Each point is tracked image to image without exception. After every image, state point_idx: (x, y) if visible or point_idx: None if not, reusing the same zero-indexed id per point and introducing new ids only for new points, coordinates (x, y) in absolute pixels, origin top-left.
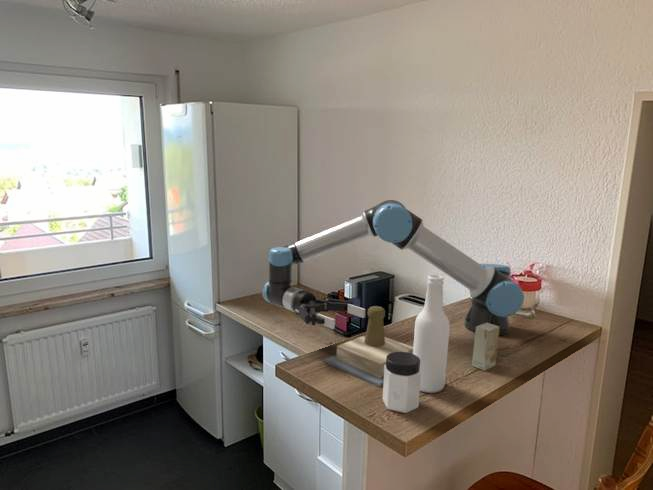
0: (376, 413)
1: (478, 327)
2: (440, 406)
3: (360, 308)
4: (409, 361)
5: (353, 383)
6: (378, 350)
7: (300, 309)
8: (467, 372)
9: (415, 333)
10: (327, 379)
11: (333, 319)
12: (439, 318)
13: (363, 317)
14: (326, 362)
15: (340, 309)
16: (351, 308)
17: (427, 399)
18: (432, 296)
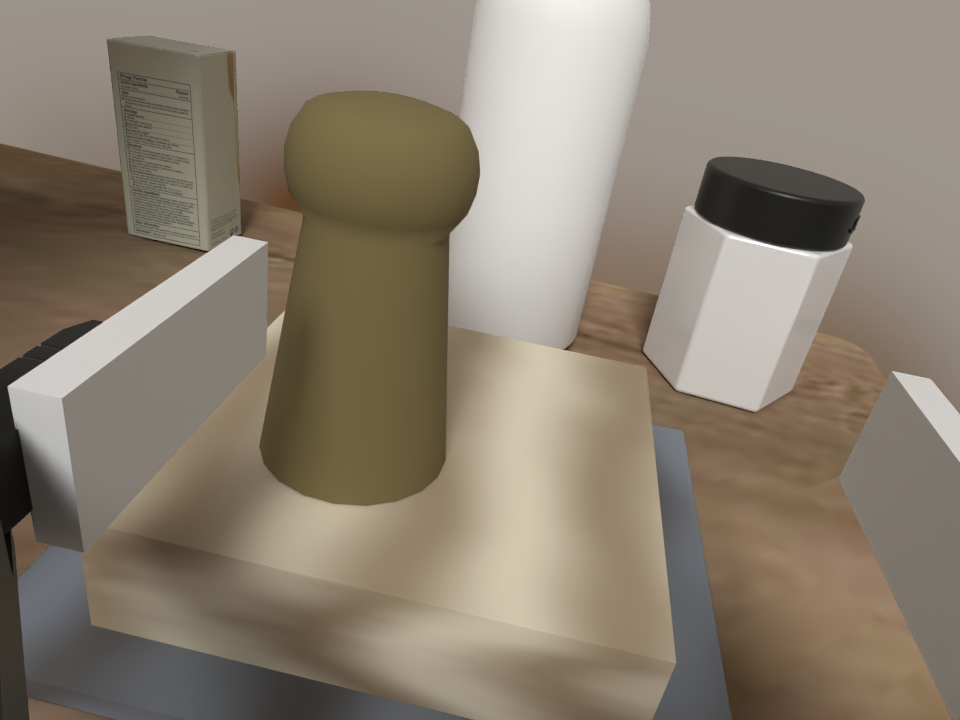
0: (850, 411)
1: (207, 55)
2: (611, 303)
3: (238, 263)
4: (783, 169)
5: (771, 538)
6: (482, 402)
7: None
8: (283, 262)
9: (620, 94)
10: (907, 682)
11: (912, 381)
12: None
13: (265, 347)
14: None
15: (20, 659)
16: (134, 397)
17: (602, 326)
18: None
